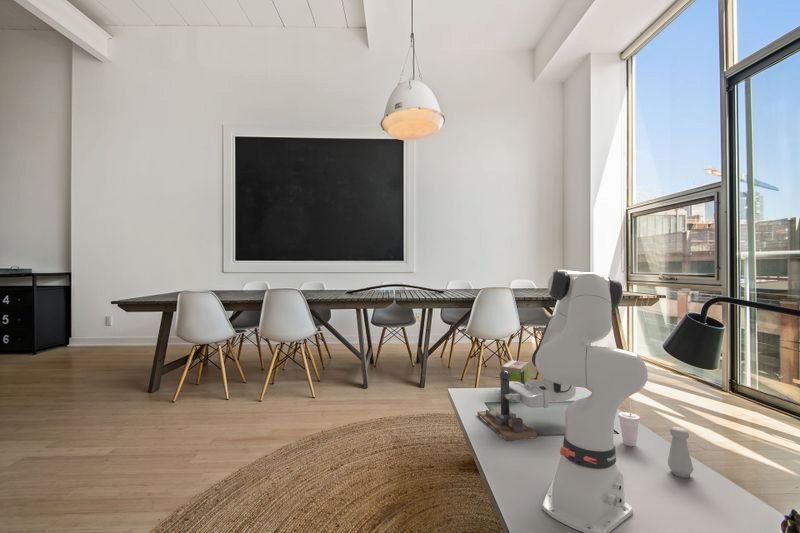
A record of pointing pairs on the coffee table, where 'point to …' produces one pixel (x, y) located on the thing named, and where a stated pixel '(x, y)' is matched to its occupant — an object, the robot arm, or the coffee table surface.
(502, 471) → the coffee table surface
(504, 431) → the base
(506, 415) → the handle slide
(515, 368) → the tea box
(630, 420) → the smoothie
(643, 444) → the coffee table surface
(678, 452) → the salt shaker
